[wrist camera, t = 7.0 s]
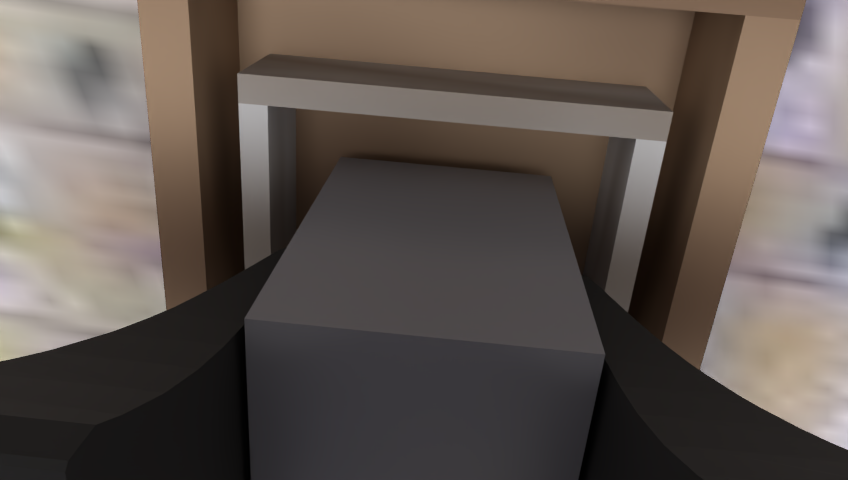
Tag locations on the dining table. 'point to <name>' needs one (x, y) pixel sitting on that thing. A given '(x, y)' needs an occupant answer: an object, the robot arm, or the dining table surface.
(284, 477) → the grey rectangular block
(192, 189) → the box
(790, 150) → the dining table surface
